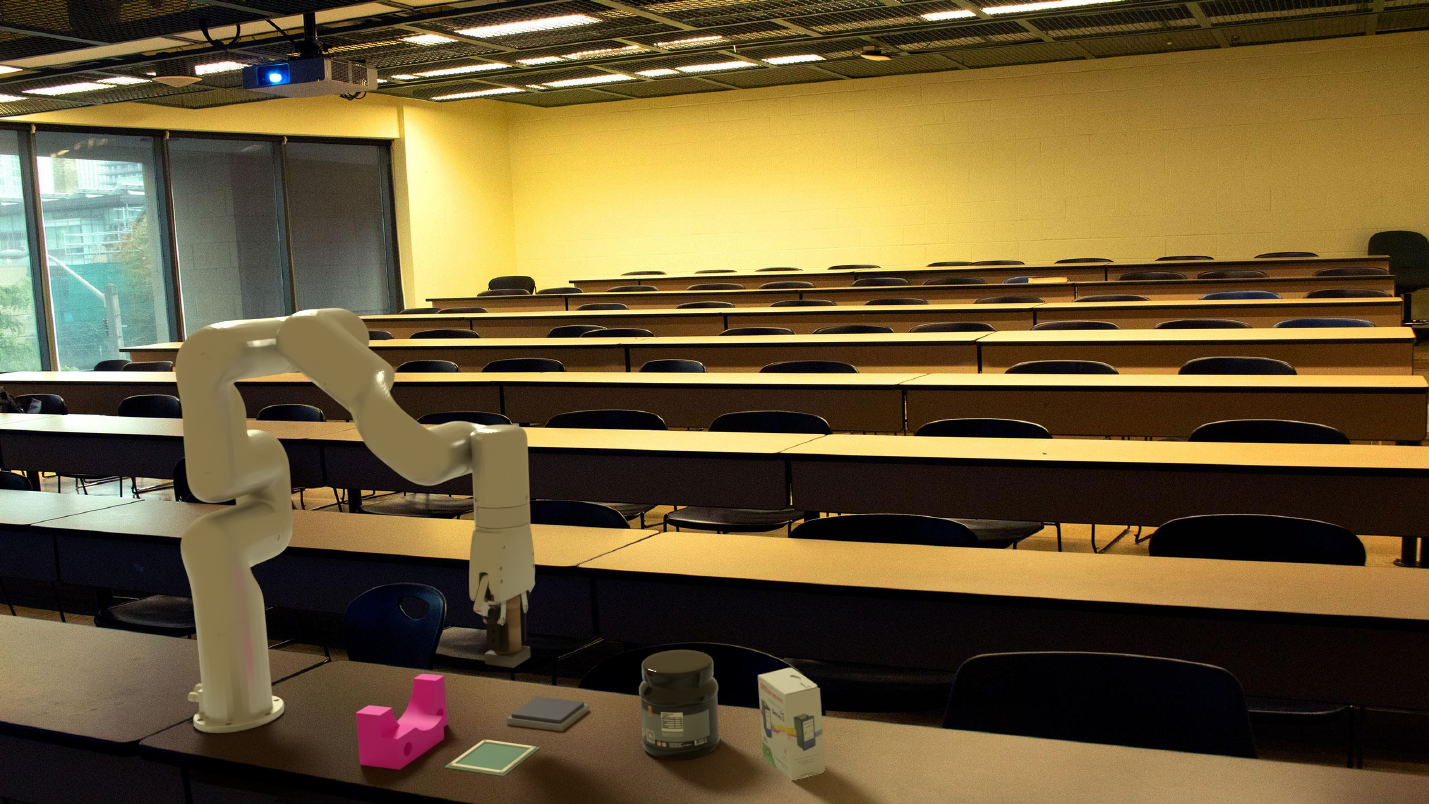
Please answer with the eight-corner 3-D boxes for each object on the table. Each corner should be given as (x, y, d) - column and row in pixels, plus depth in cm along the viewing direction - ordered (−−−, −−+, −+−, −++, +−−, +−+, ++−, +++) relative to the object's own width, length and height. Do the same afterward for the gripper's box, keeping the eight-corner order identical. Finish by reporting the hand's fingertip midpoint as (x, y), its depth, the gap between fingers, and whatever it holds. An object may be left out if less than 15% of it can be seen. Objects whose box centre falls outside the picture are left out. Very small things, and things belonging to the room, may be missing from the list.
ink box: (826, 777, 141) (823, 686, 140) (789, 786, 139) (786, 693, 138) (794, 751, 149) (792, 665, 148) (759, 759, 147) (756, 672, 145)
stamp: (485, 664, 155) (482, 589, 154) (502, 653, 159) (500, 581, 158) (513, 667, 154) (510, 593, 152) (530, 657, 158) (527, 584, 156)
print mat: (444, 768, 148) (444, 765, 148) (483, 741, 156) (483, 738, 156) (503, 777, 144) (503, 774, 144) (539, 749, 153) (539, 745, 153)
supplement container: (698, 725, 159) (694, 643, 157) (734, 752, 149) (730, 664, 148) (629, 742, 154) (625, 657, 153) (662, 771, 145) (658, 680, 143)
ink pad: (507, 724, 162) (506, 714, 161) (536, 704, 169) (535, 694, 169) (561, 732, 158) (561, 721, 158) (589, 710, 166) (588, 701, 165)
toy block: (400, 772, 148) (395, 717, 147) (360, 766, 150) (356, 712, 149) (462, 727, 162) (459, 677, 161) (425, 723, 164) (421, 673, 163)
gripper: (511, 502, 163) (516, 624, 165) (443, 527, 148) (449, 662, 150) (556, 505, 160) (561, 630, 163) (491, 531, 145) (497, 668, 147)
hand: (507, 644), depth 156 cm, fingers closed on stamp, 3 cm apart
